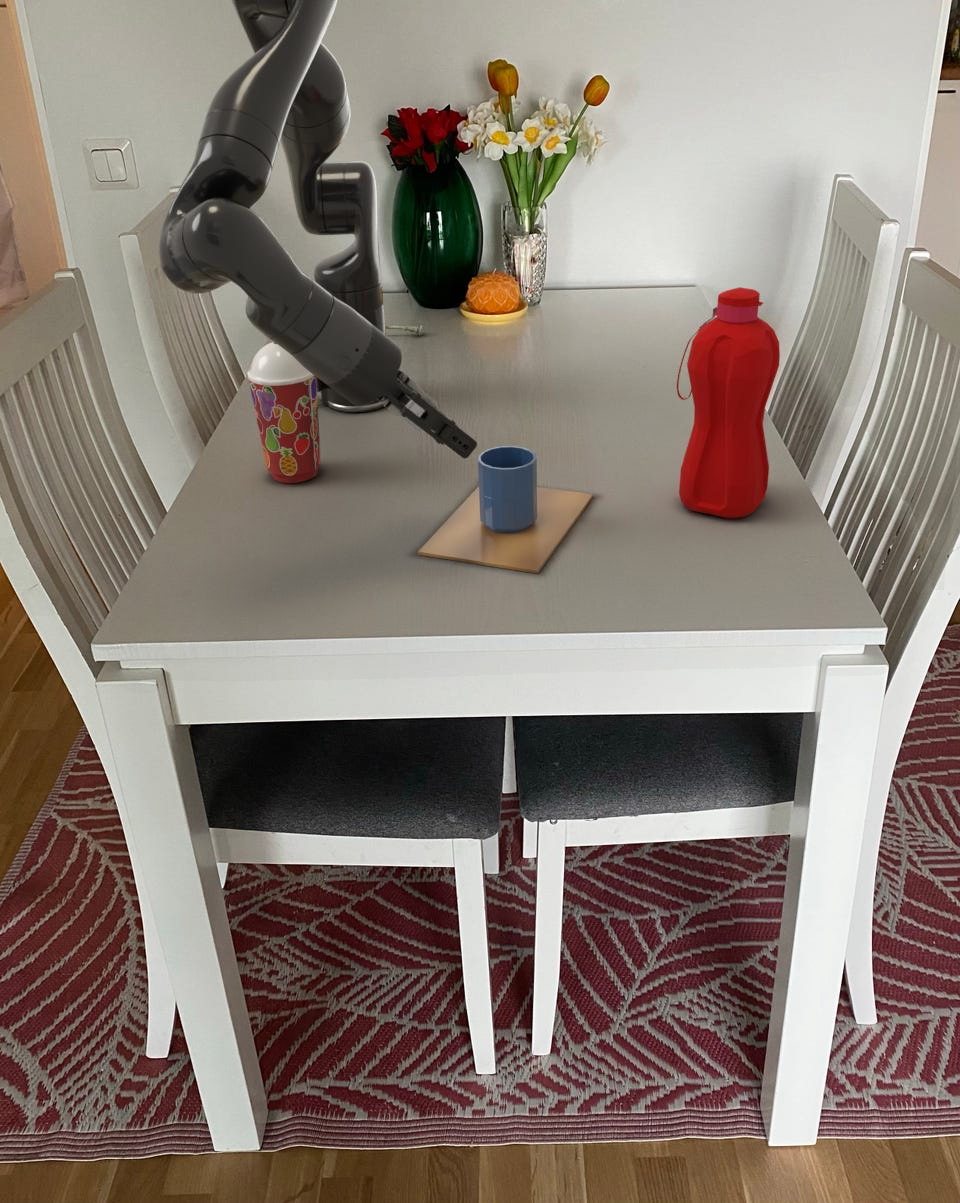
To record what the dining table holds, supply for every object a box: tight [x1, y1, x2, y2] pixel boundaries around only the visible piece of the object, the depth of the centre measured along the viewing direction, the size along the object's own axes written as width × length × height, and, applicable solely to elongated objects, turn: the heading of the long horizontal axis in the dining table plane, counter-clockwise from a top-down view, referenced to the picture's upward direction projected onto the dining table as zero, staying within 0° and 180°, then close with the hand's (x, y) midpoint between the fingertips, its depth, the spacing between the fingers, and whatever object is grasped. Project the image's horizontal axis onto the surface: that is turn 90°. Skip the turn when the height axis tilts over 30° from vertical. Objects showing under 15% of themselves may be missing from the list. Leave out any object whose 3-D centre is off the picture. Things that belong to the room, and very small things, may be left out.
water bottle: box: [676, 286, 781, 520], centre depth 129 cm, size 9×11×25 cm
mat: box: [417, 485, 594, 574], centre depth 132 cm, size 14×20×1 cm
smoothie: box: [246, 341, 322, 484], centre depth 141 cm, size 8×8×20 cm
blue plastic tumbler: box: [477, 445, 538, 533], centre depth 130 cm, size 6×6×8 cm
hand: (455, 437), depth 124 cm, fingers open, 8 cm apart
